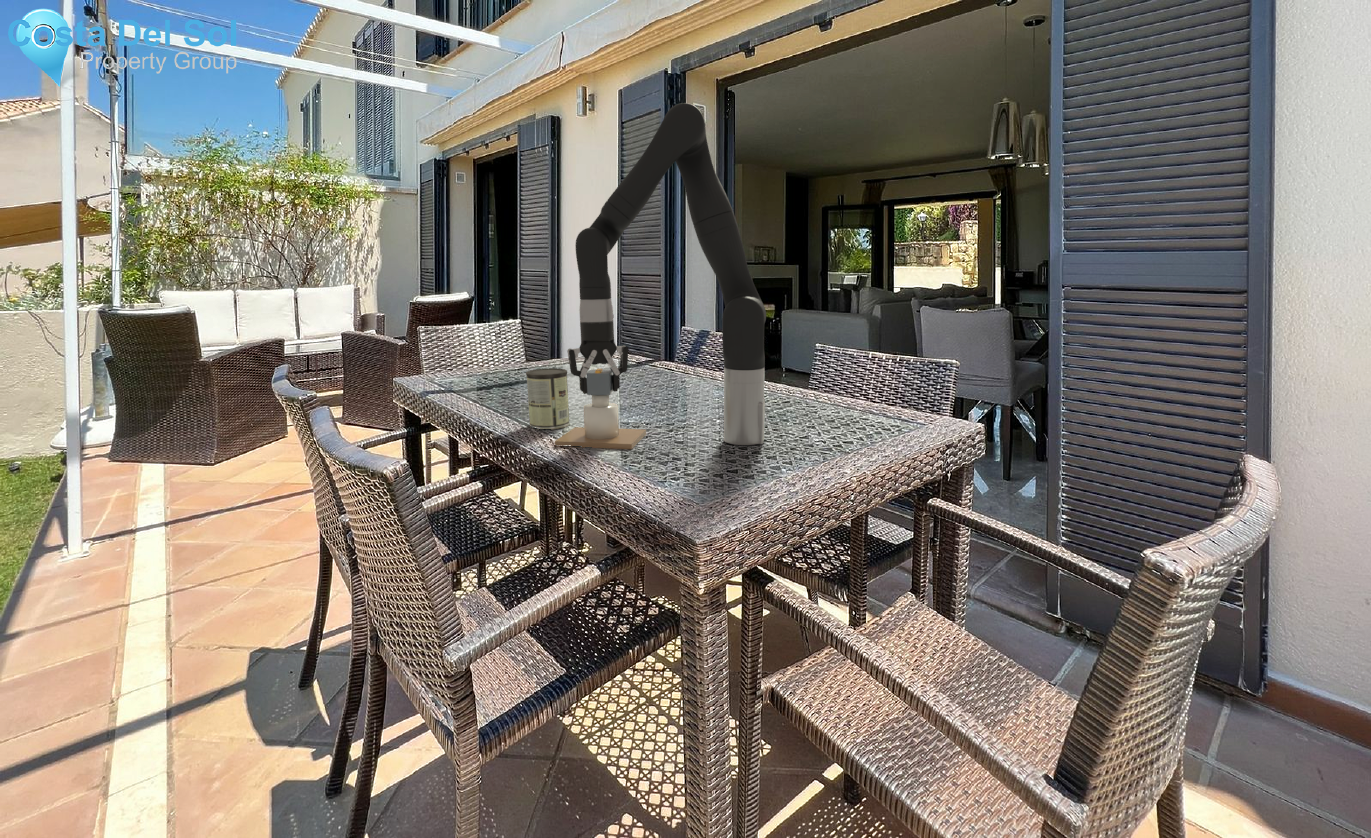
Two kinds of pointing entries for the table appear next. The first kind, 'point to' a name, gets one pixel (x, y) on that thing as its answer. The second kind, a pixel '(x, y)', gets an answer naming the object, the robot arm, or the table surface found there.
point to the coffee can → (548, 398)
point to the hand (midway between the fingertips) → (600, 392)
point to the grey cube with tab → (599, 382)
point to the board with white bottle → (601, 428)
